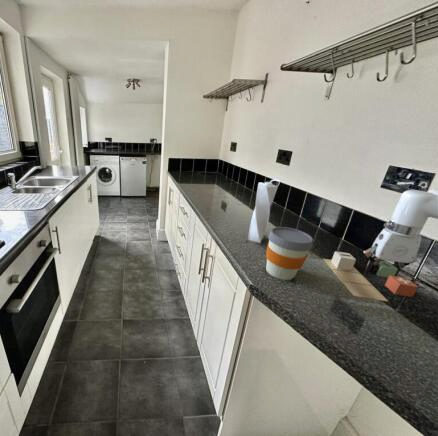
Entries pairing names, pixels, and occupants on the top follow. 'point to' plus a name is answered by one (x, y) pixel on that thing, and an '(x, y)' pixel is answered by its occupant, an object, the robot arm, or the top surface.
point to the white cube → (343, 260)
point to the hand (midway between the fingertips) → (380, 273)
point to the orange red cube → (401, 286)
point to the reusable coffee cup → (287, 252)
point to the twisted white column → (262, 210)
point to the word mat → (356, 283)
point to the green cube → (386, 269)
